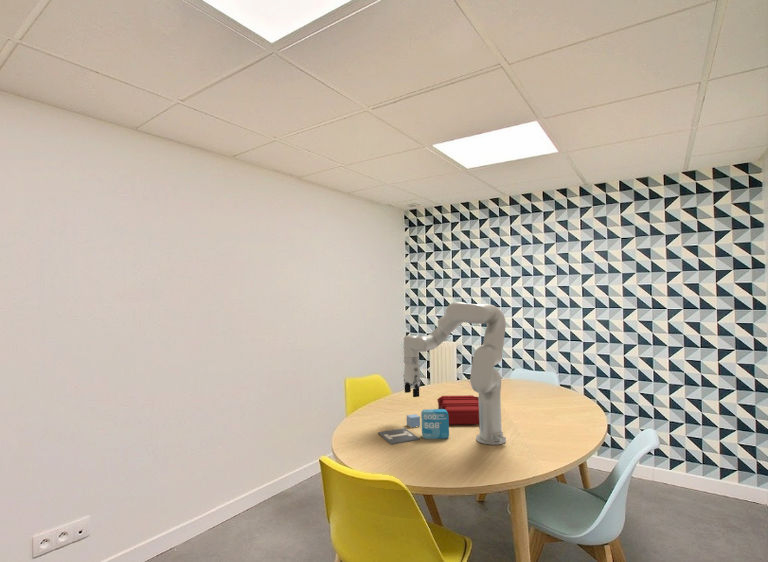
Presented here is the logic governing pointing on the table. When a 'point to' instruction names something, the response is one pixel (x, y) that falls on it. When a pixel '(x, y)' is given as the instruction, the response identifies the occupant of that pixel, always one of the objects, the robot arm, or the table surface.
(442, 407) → the first aid kit
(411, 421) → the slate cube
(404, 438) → the letter mat
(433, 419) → the data package
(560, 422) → the table surface
